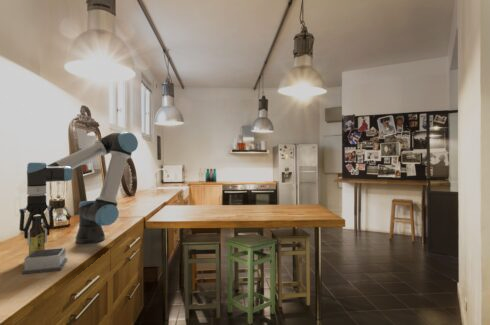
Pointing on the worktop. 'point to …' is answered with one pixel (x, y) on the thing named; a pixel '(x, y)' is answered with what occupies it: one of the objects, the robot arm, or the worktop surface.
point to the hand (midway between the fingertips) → (37, 243)
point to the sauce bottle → (37, 235)
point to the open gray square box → (45, 260)
